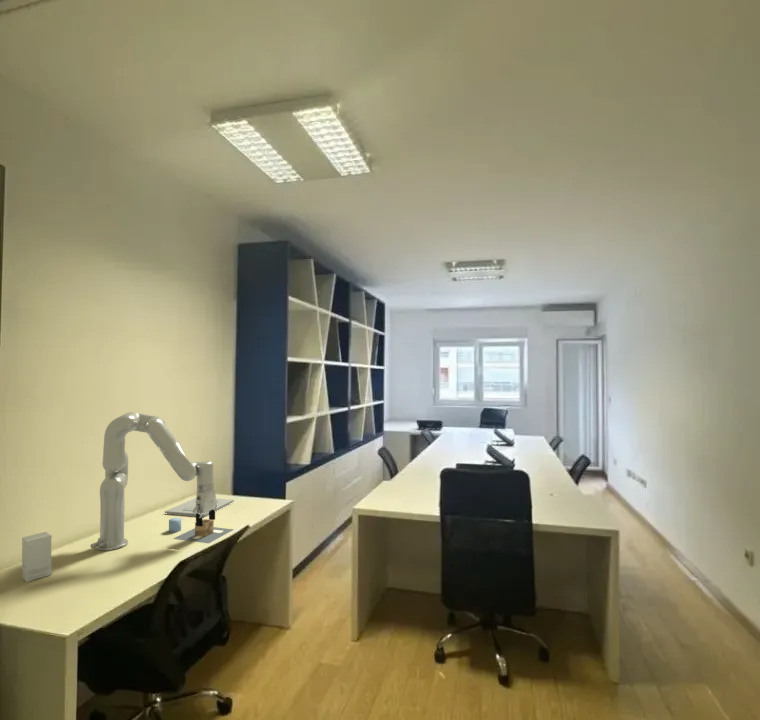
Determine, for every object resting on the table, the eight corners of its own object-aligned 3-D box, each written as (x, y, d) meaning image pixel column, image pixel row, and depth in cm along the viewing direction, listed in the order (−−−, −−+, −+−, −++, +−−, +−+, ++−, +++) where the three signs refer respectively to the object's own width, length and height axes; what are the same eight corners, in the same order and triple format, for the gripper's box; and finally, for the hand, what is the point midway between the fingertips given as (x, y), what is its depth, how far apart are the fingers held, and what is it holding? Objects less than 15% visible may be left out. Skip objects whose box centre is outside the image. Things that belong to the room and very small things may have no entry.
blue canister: (175, 534, 229) (175, 521, 229) (166, 533, 231) (166, 520, 231) (183, 530, 235) (183, 518, 235) (174, 529, 236) (174, 517, 236)
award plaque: (164, 515, 261) (165, 511, 261) (197, 500, 290) (197, 497, 290) (204, 518, 256) (204, 514, 256) (233, 503, 285) (233, 499, 285)
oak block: (205, 536, 224) (205, 523, 224) (194, 535, 226) (195, 522, 226) (213, 532, 230) (213, 520, 230) (203, 531, 232) (203, 518, 232)
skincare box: (46, 570, 187) (47, 531, 187) (52, 575, 183) (52, 534, 183) (20, 577, 180) (21, 536, 181) (25, 582, 176) (26, 540, 176)
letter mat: (208, 544, 215) (208, 543, 215) (172, 540, 221) (172, 538, 221) (234, 530, 235) (234, 529, 235) (200, 526, 240) (200, 525, 240)
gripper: (200, 492, 219) (200, 529, 219) (222, 483, 236) (223, 517, 235) (186, 491, 221) (187, 528, 221) (209, 482, 238) (210, 516, 238)
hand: (205, 522), depth 228 cm, fingers open, 9 cm apart
